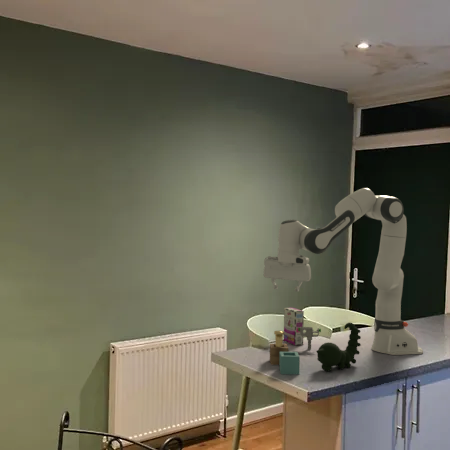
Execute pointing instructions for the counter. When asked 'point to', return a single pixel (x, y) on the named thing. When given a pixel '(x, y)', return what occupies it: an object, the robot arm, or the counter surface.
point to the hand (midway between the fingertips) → (286, 290)
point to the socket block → (289, 362)
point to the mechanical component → (308, 334)
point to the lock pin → (279, 338)
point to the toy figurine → (339, 351)
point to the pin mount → (276, 353)
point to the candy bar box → (293, 326)
